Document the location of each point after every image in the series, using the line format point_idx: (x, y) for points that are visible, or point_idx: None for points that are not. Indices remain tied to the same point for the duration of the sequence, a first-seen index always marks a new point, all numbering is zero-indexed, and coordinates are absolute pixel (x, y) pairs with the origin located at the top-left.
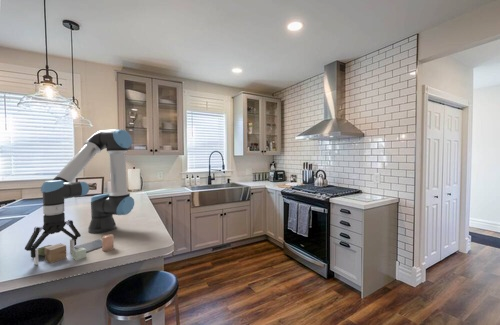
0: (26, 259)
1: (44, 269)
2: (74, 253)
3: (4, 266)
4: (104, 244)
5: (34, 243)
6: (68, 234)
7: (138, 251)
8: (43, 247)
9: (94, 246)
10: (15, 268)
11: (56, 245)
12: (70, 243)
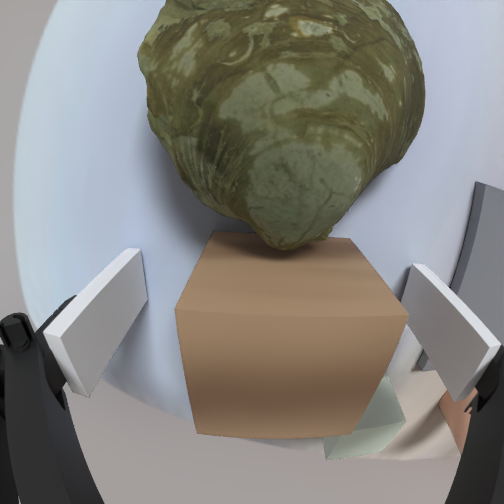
0: (130, 51)
1: (164, 389)
2: (330, 436)
3: (24, 97)
4: (453, 432)
5: (9, 404)
6: (457, 484)
7: (431, 455)
8: (235, 88)
9: (492, 326)
10: (45, 209)
11: (317, 371)
12: (456, 328)
